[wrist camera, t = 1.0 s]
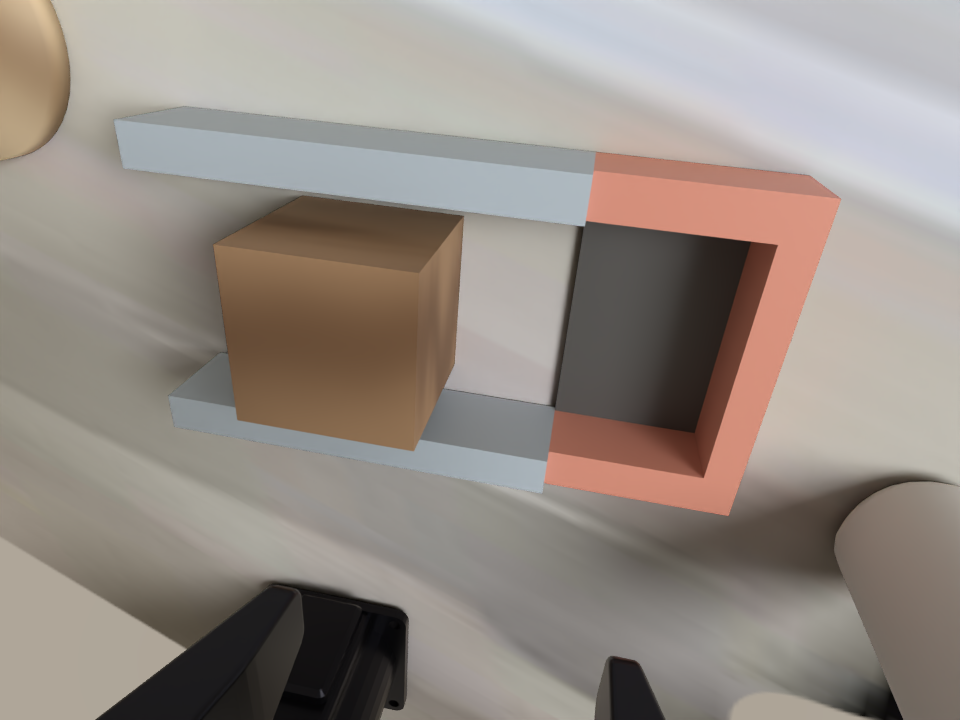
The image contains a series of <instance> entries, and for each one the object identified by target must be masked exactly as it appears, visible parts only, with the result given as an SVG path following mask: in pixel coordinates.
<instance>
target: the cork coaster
mask: <svg viewBox="0 0 960 720" xmlns="http://www.w3.org/2000/svg"><path fill="white" fill-rule="evenodd" d="M69 94H70V66H69V59H68V53H67V47H66V43H65V39H64V35H63V32H62V28H61V25H60V23H59V20H58V17H57V15H56V12H55V10H54V7H53V5H52V3H51V1H50V0H0V161H1V160H5V159H10V158H15V157H19V156H23V155H26V154H29V153H32V152H34V151H36V150H37V149H39V148H41V147H42V146H43V145H45V144H46V143H47V142H48V141H49V140H50V139H51V138H52V137H53V136H54V134H55V133H56V132H57V130H58V128H59V126H60V125H61V123H62V121H63V118H64V115H65V112H66V110H67V105H68V100H69Z"/></svg>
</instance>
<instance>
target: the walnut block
mask: <svg viewBox="0 0 960 720" xmlns="http://www.w3.org/2000/svg"><path fill="white" fill-rule="evenodd" d="M463 222H464V216H460V215H452V214H445V213H437V212H429V211H421V210H413V209H405V208H397V207H389V206H382V205H374V204H366V203H358V202H350V201H342V200H334V199H326V198H319V197H311V196H301V197H299V198H297V199H296V200H294V201H292V202H290V203H288V204H286V205H285V206H283V207H281V208H279V209H277V210H275V211H274V212H272V213H270V214H268V215H266V216H264V217H263V218H261V219H259V220H257V221H255V222H253V223H252V224H250V225H248V226H246V227H244V228H242V229H241V230H239V231H237V232H235V233H233V234H231V235H230V236H228V237H226V238H224V239H222V240H220V241H218V242H217V243H215V244H213V247H214V255H215V262H216V269H217V277H218V284H219V291H220V298H221V306H222V313H223V320H224V328H225V335H226V342H227V349H228V357H229V364H230V371H231V379H232V386H233V393H234V401H235V408H236V415H237V420H238V421H244V422H250V423H255V424H261V425H267V426H272V427H278V428H284V429H289V430H295V431H301V432H306V433H312V434H318V435H323V436H329V437H334V438H340V439H346V440H351V441H357V442H363V443H368V444H374V445H380V446H385V447H391V448H397V449H402V450H408V451H414V450H415V448H416V446H417V444H418V442H419V439H420V437H421V435H422V433H423V431H424V429H425V427H426V424H427V422H428V420H429V418H430V416H431V414H432V412H433V409H434V407H435V405H436V403H437V401H438V399H439V396H440V394H441V392H442V390H443V388H444V386H445V384H446V381H447V379H448V377H449V375H450V373H451V371H452V368H453V366H454V364H455V349H456V333H457V317H458V302H459V286H460V270H461V254H462V238H463Z"/></svg>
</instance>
